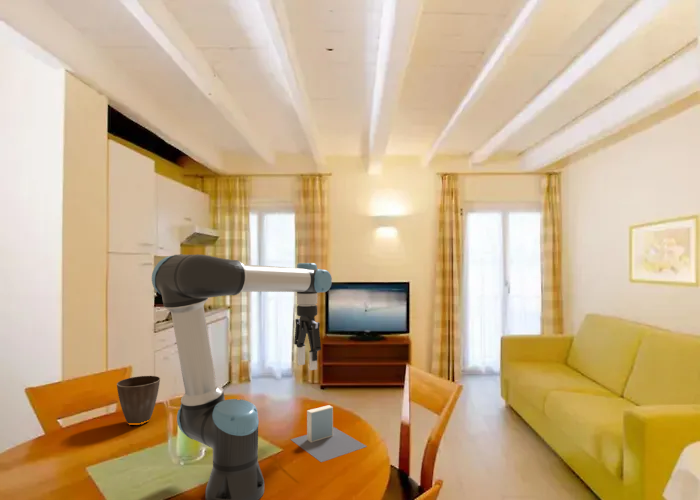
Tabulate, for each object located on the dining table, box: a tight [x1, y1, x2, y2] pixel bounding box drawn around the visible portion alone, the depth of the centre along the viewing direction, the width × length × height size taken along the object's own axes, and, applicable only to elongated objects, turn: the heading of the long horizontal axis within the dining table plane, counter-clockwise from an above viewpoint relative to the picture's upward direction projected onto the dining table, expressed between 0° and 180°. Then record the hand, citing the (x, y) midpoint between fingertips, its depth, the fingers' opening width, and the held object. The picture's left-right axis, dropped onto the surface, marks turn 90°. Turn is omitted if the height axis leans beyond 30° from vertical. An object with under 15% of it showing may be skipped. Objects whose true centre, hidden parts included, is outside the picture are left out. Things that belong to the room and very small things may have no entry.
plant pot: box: [116, 375, 161, 424], centre depth 160 cm, size 15×15×16 cm
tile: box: [306, 404, 334, 442], centre depth 144 cm, size 9×2×10 cm, turn 126°
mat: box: [290, 426, 368, 463], centre depth 140 cm, size 18×20×1 cm
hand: (307, 367), depth 152 cm, fingers open, 8 cm apart
